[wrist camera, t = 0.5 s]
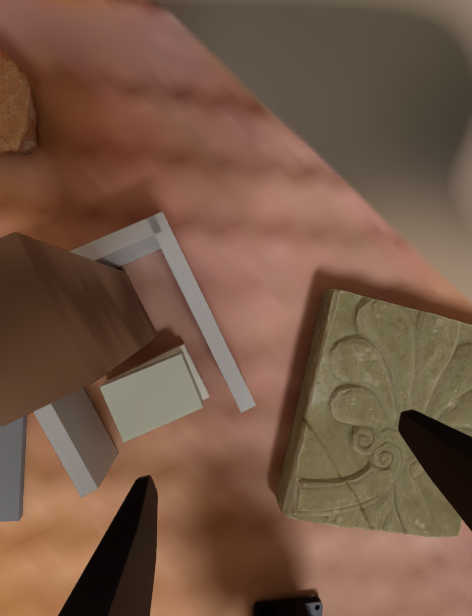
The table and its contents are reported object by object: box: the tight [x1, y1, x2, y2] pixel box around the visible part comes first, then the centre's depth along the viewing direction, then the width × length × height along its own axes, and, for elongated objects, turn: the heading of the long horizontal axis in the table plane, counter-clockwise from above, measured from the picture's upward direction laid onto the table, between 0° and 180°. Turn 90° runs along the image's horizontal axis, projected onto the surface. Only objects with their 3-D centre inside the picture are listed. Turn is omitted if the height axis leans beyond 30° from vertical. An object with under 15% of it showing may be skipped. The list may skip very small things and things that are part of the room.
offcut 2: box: [100, 350, 203, 442], centre depth 20 cm, size 5×6×2 cm
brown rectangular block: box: [0, 232, 158, 427], centre depth 15 cm, size 6×4×12 cm, turn 25°
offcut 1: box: [105, 343, 210, 400], centre depth 21 cm, size 5×7×2 cm
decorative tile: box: [276, 288, 472, 538], centre depth 23 cm, size 19×20×4 cm
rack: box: [34, 212, 255, 497], centre depth 19 cm, size 15×13×4 cm
